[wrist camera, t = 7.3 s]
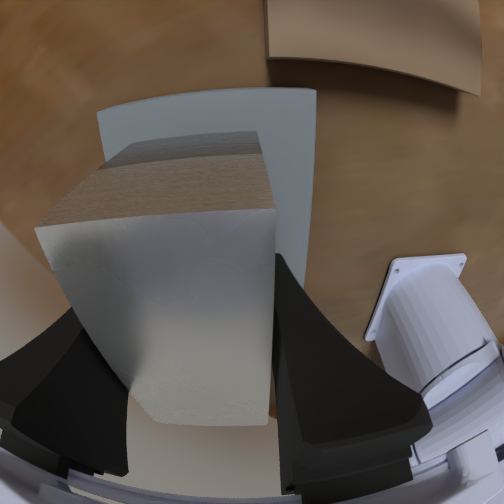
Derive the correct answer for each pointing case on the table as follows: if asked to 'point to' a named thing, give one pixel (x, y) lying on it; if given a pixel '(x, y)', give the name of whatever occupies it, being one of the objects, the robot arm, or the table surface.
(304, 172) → the stand
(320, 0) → the stand
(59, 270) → the block
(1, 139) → the table surface
